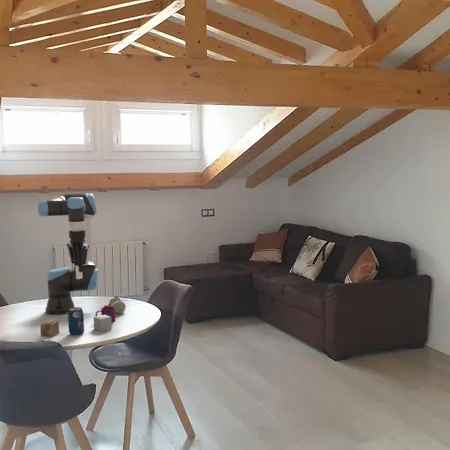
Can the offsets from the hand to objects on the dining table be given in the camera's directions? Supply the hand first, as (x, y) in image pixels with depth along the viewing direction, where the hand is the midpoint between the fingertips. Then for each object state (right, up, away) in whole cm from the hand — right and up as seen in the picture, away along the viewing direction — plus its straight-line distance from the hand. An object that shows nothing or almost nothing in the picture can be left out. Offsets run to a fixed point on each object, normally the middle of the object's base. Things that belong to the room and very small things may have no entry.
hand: (79, 278), depth 273 cm
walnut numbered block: (-11, -25, -9) cm, 29 cm away
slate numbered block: (+12, -24, -1) cm, 27 cm away
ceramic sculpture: (+12, -21, +32) cm, 40 cm away
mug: (+10, -23, +12) cm, 28 cm away
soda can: (+1, -25, -8) cm, 27 cm away
